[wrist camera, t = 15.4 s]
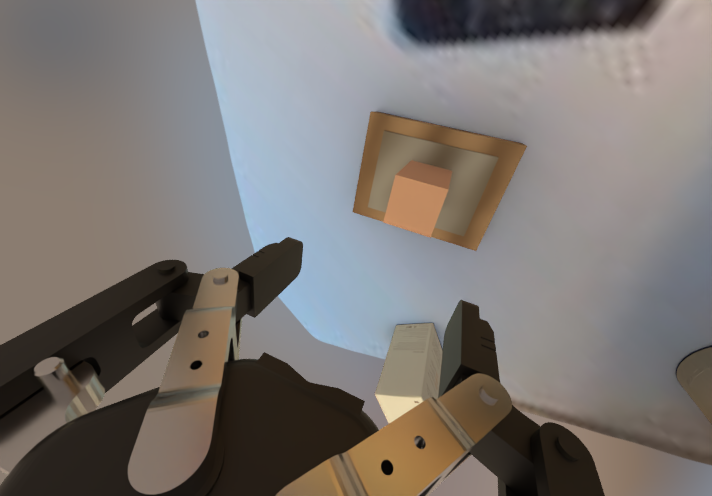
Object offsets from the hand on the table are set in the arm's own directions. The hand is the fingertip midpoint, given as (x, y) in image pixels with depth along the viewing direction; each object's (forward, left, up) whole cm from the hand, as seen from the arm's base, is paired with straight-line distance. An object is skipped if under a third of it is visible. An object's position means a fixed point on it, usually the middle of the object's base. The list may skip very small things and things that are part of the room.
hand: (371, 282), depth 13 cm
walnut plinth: (0, 0, -23) cm, 23 cm away
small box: (-7, +26, -23) cm, 36 cm away
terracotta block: (0, 0, -20) cm, 20 cm away
